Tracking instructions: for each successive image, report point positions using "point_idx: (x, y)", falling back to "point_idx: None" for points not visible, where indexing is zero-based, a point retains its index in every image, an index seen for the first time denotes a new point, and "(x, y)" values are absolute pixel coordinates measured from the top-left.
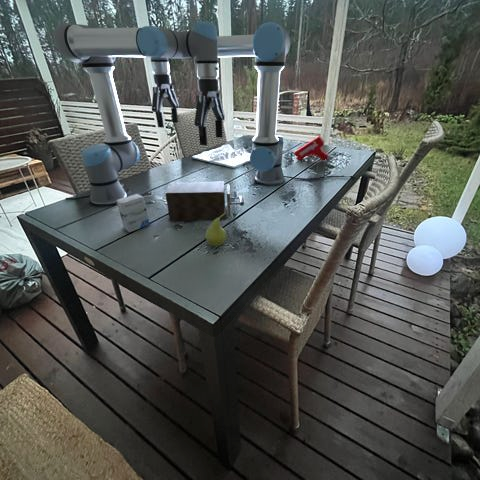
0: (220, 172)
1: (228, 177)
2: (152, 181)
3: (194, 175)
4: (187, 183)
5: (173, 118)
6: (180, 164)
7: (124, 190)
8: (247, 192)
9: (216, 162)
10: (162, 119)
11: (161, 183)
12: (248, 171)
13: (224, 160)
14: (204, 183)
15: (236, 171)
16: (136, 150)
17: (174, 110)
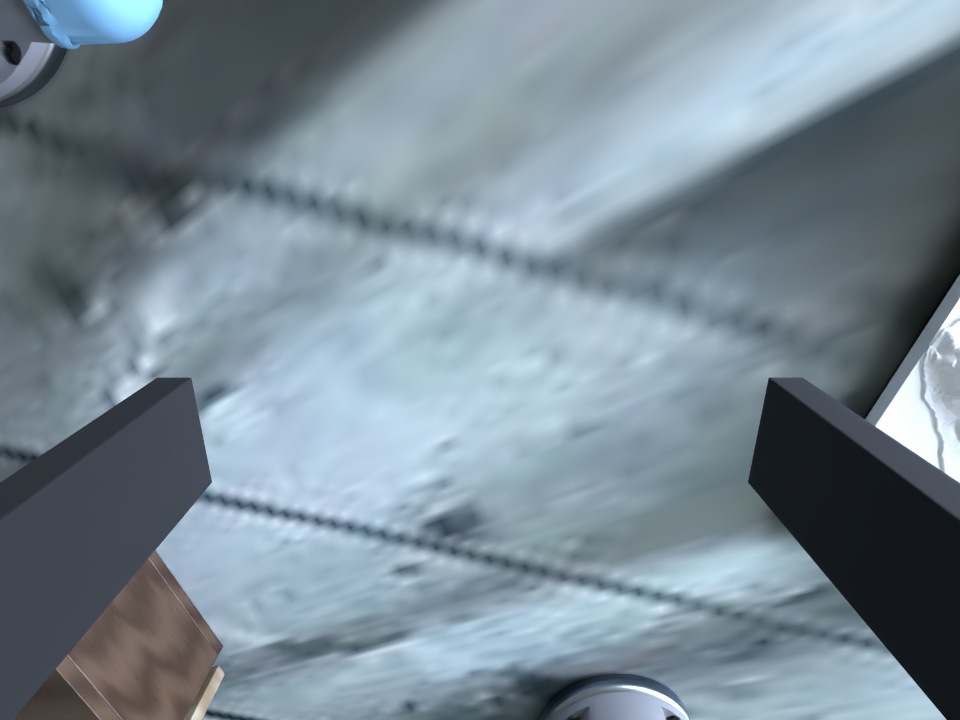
0: (695, 474)
1: (610, 546)
2: (383, 78)
3: (597, 335)
4: None
5: (811, 444)
6: (863, 77)
7: (26, 49)
8: (423, 679)
9: (894, 391)
10: (107, 588)
11: (372, 180)
12: (741, 613)
13: (941, 436)
14: (66, 717)
15: (731, 555)
16: (35, 20)
17: (948, 650)
